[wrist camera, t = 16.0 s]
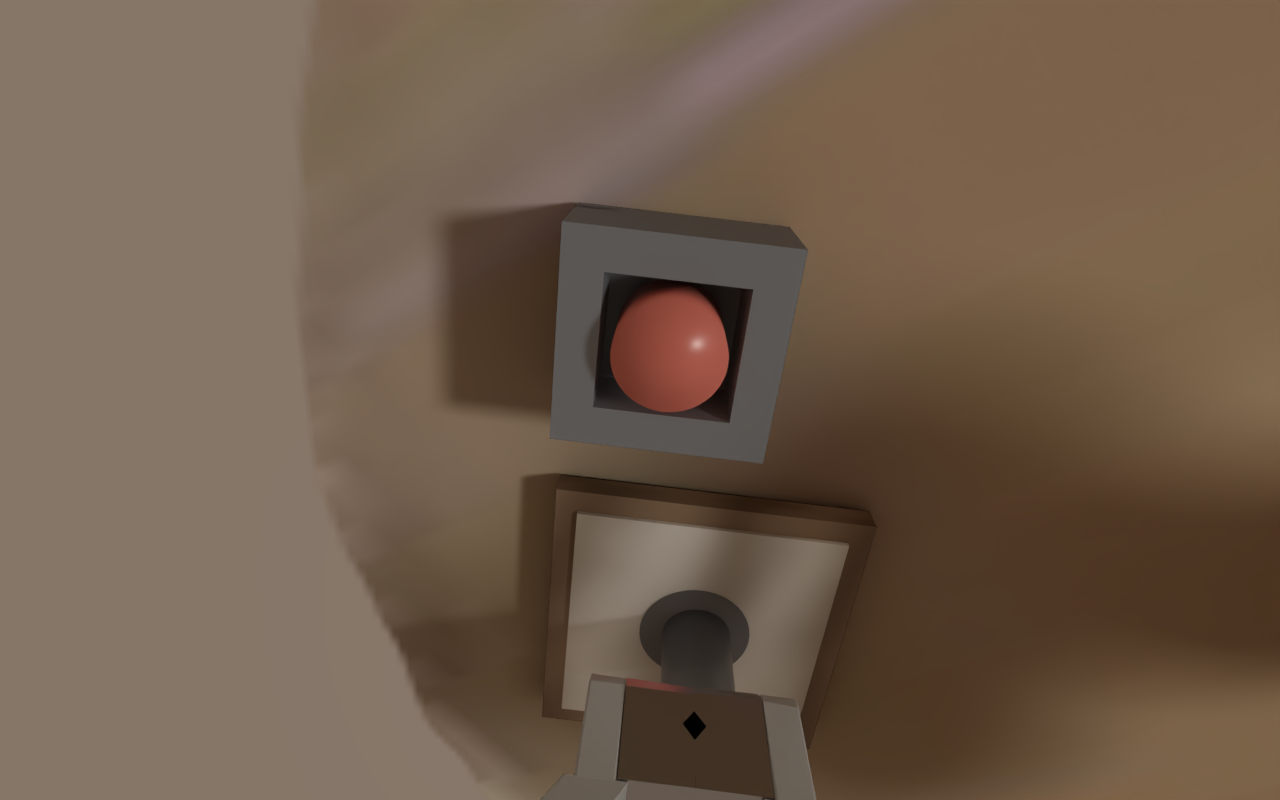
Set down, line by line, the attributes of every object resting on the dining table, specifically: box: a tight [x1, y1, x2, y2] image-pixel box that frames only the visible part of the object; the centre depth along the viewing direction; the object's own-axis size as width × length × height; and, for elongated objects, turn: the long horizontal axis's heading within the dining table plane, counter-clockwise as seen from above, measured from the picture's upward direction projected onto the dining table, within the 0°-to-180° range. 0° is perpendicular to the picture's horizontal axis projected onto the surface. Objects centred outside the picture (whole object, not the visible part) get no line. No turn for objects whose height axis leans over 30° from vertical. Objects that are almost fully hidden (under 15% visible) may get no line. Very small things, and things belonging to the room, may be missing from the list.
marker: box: [661, 610, 735, 692], centre depth 28 cm, size 3×3×10 cm
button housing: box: [550, 202, 808, 464], centre depth 25 cm, size 8×8×4 cm
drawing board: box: [542, 475, 876, 749], centre depth 33 cm, size 14×14×2 cm
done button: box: [610, 279, 729, 412], centre depth 24 cm, size 4×4×3 cm
